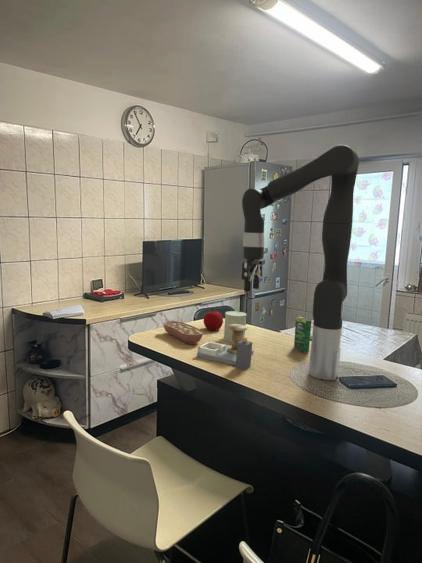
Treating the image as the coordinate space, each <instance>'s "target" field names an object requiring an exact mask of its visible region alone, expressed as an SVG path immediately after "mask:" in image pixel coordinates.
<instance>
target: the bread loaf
mask: <svg viewBox="0 0 422 563" xmlns="http://www.w3.org/2000/svg"><path fill="white" fill-rule="evenodd" d="M163 328H164V331H165V332H166V333H167V334H168V335H170V336H173V337H176V338H178V339H180V340H182V341H183V342H185V343H186V344H188V345H194V344H197V343H199V342H200V341H201V340H202V337H203V334H204V332H203V331H202V330H201V329H199V328H198V327H195V326H193V325H191V324H189V323H185V322H183V321H176V320H175V321H173V320H171V321H170V320H169V321H165V322H163Z"/></svg>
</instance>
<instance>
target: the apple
mask: <svg viewBox="0 0 422 563" xmlns="http://www.w3.org/2000/svg"><path fill="white" fill-rule="evenodd" d="M223 324H224V316H223V315H222V313H221V312H219V311H214V310H213V309H211V311H207V312H206V313H205V314H204V316H203V325H204V327H205V329H206V330H208V331H218V330H220V329H221V328H222V326H223Z"/></svg>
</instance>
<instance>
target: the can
mask: <svg viewBox="0 0 422 563" xmlns="http://www.w3.org/2000/svg"><path fill="white" fill-rule="evenodd" d="M224 316H225V317H224V331H223V338H222V339H223V341H225V342H228V343H231V344H232V331H233V330H231V329H229V325H231V324H241V325H245V326H247V312H243V311H235V310H233V311H232V310H230V311H225V312H224ZM245 334H246V330H245V331H243V337H246V335H245Z"/></svg>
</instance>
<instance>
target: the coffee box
mask: <svg viewBox="0 0 422 563" xmlns="http://www.w3.org/2000/svg"><path fill="white" fill-rule="evenodd" d="M294 328H295V330H294V343H293V348H294V349H297V351H300V352H301V353H303V354H308V353H309V352H310V344H311V331H312V320H310V319H308V318H305V317H304V316H303V317H302V316H296V317H295V327H294Z"/></svg>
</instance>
